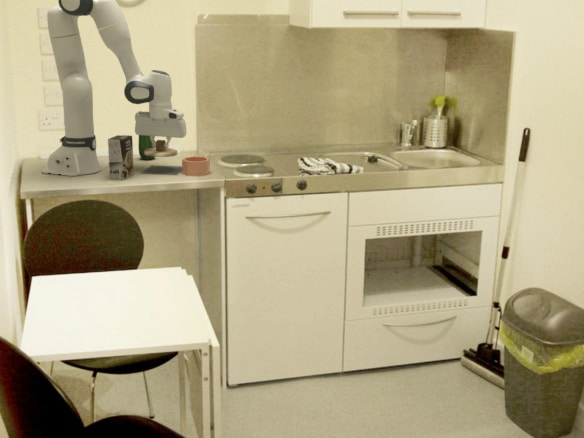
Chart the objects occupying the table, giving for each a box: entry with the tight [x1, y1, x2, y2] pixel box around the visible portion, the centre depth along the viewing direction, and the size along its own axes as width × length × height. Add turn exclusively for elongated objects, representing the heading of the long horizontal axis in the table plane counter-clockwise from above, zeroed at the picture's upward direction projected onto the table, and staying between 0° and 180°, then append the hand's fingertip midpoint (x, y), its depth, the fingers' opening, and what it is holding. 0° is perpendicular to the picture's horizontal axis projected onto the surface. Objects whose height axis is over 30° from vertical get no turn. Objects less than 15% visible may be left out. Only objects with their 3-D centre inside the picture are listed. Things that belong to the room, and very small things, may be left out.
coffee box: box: [107, 134, 135, 181], centre depth 286 cm, size 9×6×16 cm
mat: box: [139, 164, 182, 176], centre depth 300 cm, size 15×15×1 cm
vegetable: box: [138, 135, 156, 161], centre depth 317 cm, size 7×7×20 cm
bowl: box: [181, 155, 211, 177], centre depth 295 cm, size 10×10×6 cm
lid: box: [144, 139, 178, 158], centre depth 297 cm, size 13×13×5 cm
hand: (160, 147), depth 297 cm, fingers closed on lid, 3 cm apart
